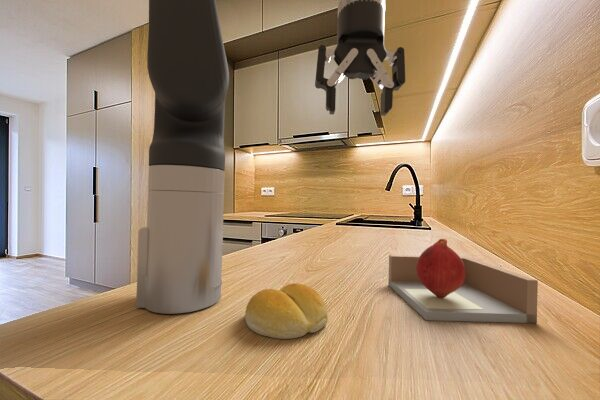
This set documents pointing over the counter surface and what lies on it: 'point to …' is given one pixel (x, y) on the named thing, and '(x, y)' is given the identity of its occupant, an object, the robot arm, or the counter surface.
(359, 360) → the counter surface
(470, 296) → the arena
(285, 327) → the bread roll
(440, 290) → the onion
